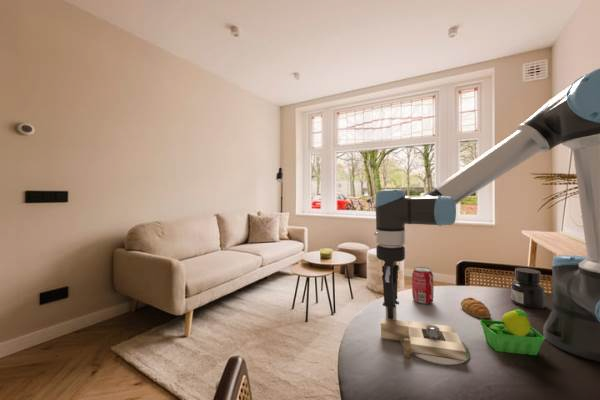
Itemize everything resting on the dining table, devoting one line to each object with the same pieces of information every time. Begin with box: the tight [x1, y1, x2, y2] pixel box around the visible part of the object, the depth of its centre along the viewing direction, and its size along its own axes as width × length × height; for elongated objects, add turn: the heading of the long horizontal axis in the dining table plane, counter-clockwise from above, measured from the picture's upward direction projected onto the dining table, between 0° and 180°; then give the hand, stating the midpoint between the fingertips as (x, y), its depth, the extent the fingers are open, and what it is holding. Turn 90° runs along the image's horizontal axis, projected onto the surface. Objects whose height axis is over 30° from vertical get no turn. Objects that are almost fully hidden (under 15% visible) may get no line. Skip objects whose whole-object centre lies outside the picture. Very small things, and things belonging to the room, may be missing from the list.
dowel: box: [403, 338, 412, 359], centre depth 64 cm, size 2×2×4 cm
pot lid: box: [400, 325, 470, 367], centre depth 68 cm, size 16×16×5 cm
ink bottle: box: [510, 267, 546, 310], centre depth 92 cm, size 10×9×12 cm
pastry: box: [460, 297, 492, 320], centre depth 86 cm, size 9×7×4 cm
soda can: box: [411, 266, 435, 305], centre depth 96 cm, size 7×7×12 cm
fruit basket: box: [479, 308, 546, 356], centre depth 66 cm, size 11×9×11 cm
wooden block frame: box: [380, 317, 466, 360], centre depth 69 cm, size 19×12×4 cm, turn 72°
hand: (391, 327), depth 74 cm, fingers closed
